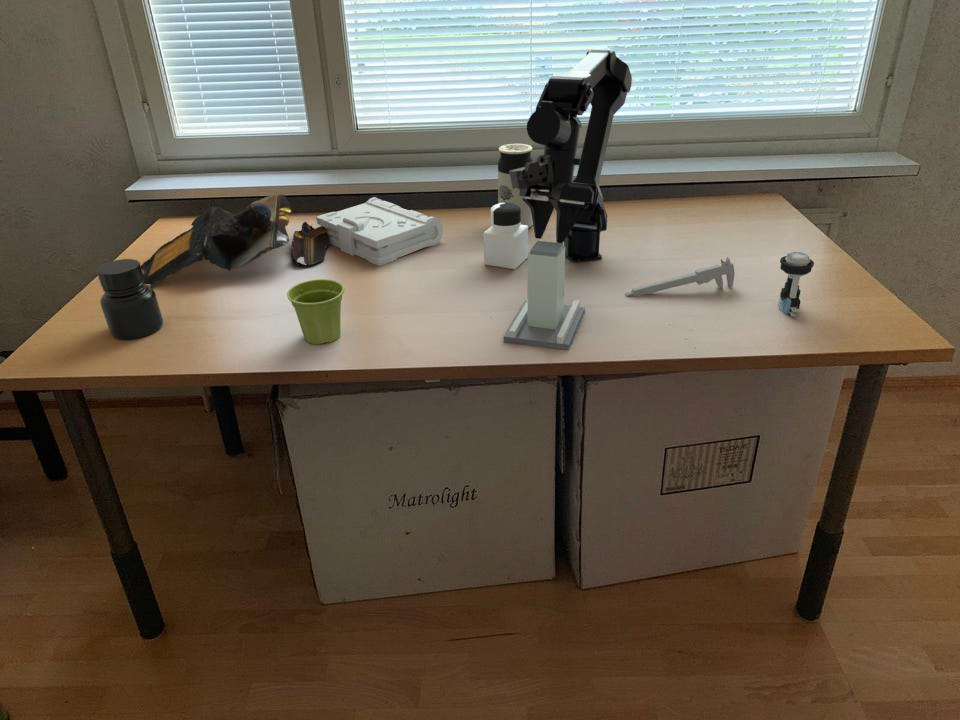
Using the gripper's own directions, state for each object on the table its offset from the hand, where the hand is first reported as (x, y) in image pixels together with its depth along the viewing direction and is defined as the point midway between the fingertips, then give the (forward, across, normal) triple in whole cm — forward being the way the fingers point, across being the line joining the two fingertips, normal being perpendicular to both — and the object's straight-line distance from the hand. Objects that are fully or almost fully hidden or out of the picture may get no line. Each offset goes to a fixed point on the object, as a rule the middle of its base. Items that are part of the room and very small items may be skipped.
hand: (548, 240), depth 128 cm
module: (+13, +9, -3) cm, 16 cm away
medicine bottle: (+6, -20, +1) cm, 21 cm away
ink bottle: (+24, -19, -69) cm, 75 cm away
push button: (+7, +20, +39) cm, 44 cm away
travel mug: (-1, -39, +9) cm, 40 cm away
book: (+6, -44, -22) cm, 50 cm away
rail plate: (+14, +8, -2) cm, 17 cm away
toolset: (+13, -47, -52) cm, 71 cm away
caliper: (+7, +6, +26) cm, 27 cm away
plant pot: (+20, -3, -38) cm, 43 cm away
